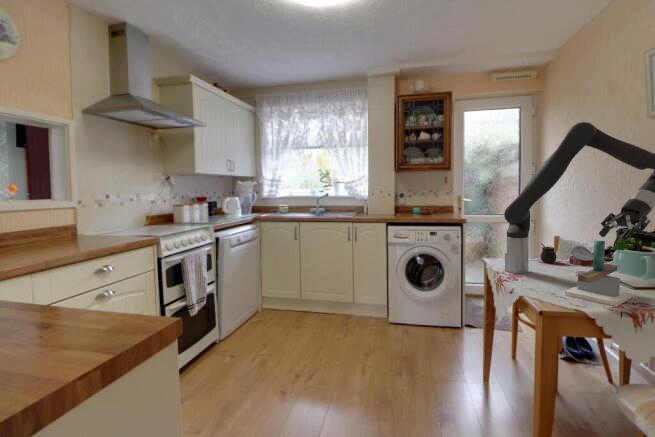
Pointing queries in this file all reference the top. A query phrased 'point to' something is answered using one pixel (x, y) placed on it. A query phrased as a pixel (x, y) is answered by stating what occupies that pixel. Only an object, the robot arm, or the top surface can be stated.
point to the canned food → (581, 256)
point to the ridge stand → (600, 291)
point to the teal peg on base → (598, 265)
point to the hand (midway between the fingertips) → (611, 237)
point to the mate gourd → (548, 254)
